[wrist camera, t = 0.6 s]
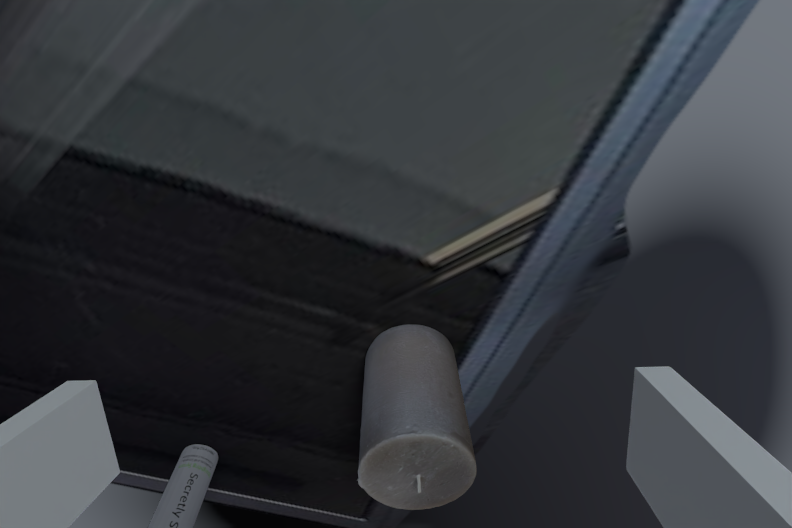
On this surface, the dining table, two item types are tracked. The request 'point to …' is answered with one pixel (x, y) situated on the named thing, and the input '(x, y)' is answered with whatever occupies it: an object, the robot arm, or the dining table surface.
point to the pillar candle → (414, 421)
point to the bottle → (186, 488)
